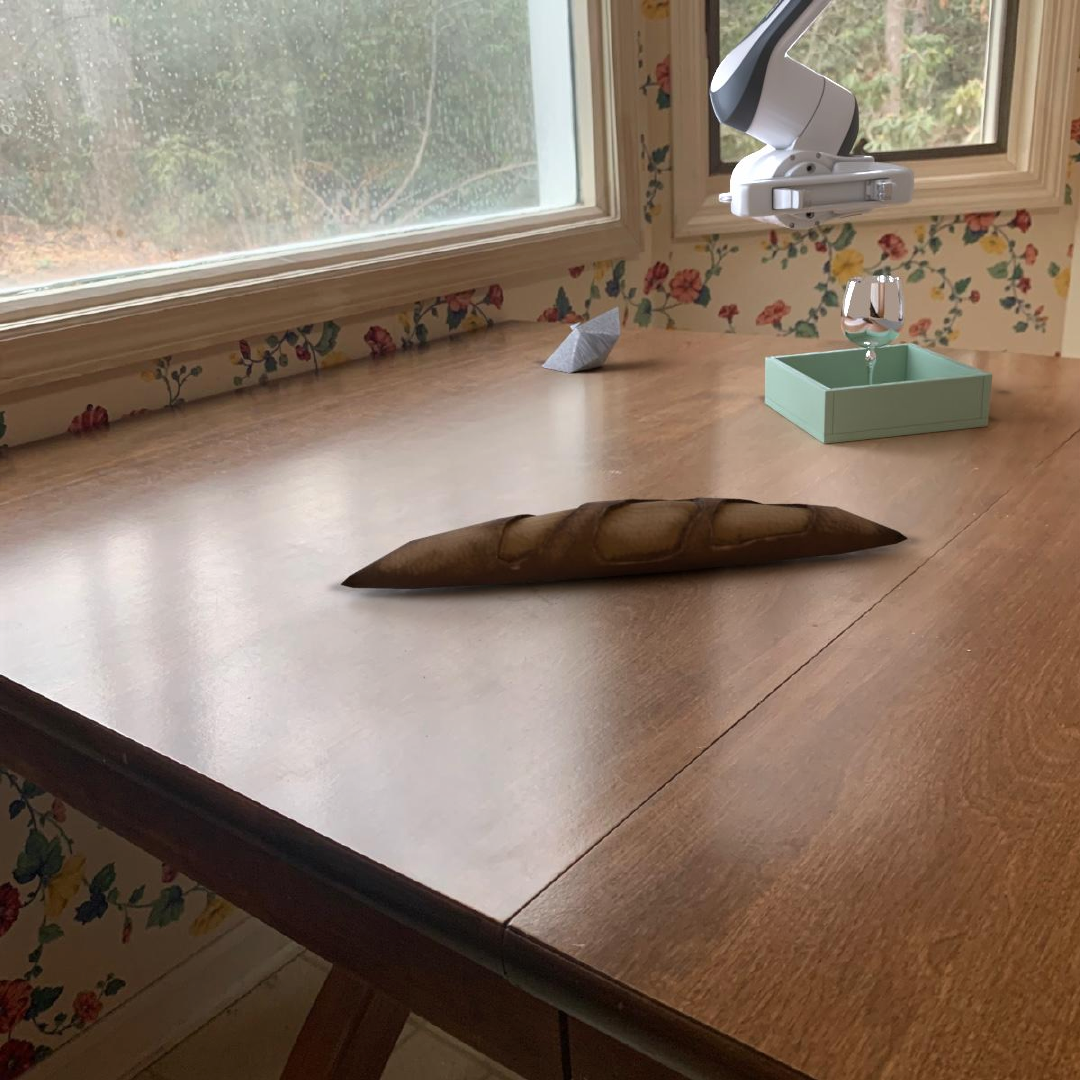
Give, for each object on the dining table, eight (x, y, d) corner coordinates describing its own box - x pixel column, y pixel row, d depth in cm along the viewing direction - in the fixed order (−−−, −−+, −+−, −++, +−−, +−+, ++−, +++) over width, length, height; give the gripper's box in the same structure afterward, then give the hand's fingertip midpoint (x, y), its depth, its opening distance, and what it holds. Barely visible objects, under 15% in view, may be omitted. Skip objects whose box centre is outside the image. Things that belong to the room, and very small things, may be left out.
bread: (337, 610, 70) (327, 538, 68) (346, 580, 75) (336, 512, 73) (921, 562, 71) (925, 490, 69) (893, 536, 76) (897, 467, 74)
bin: (909, 388, 113) (911, 342, 111) (988, 426, 99) (992, 374, 97) (764, 403, 111) (765, 357, 110) (823, 444, 97) (825, 391, 95)
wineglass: (906, 400, 106) (913, 275, 101) (891, 415, 101) (898, 284, 97) (847, 396, 109) (851, 274, 104) (829, 411, 104) (833, 283, 100)
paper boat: (544, 369, 128) (519, 337, 135) (570, 405, 132) (544, 372, 139) (627, 307, 127) (597, 277, 134) (650, 345, 131) (620, 315, 138)
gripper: (713, 168, 126) (753, 172, 113) (882, 154, 128) (939, 156, 115) (714, 225, 128) (753, 235, 115) (880, 210, 130) (936, 218, 117)
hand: (847, 195), depth 115 cm, fingers open, 8 cm apart
